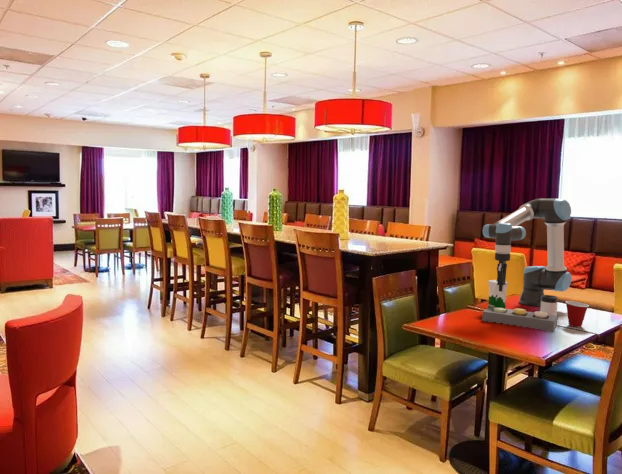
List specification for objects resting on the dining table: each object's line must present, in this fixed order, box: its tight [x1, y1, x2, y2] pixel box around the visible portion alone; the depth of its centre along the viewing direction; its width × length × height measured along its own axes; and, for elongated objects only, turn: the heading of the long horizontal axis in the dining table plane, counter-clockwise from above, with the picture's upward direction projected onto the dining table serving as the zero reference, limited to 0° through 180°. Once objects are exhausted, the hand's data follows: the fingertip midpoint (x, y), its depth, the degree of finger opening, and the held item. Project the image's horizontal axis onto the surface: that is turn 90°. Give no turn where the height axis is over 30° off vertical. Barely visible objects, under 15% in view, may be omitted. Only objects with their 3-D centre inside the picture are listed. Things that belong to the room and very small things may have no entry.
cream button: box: [533, 310, 548, 318], centre depth 252 cm, size 6×6×2 cm
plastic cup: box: [565, 300, 590, 328], centre depth 254 cm, size 11×11×12 cm
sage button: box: [494, 308, 507, 313], centre depth 263 cm, size 6×6×2 cm
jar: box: [539, 294, 559, 316], centre depth 268 cm, size 9×8×12 cm
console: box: [481, 306, 559, 332], centre depth 258 cm, size 14×34×5 cm, turn 57°
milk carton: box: [487, 279, 509, 309], centre depth 278 cm, size 9×9×20 cm
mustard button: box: [513, 307, 527, 315], centre depth 257 cm, size 6×6×2 cm
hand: (500, 296), depth 262 cm, fingers closed
